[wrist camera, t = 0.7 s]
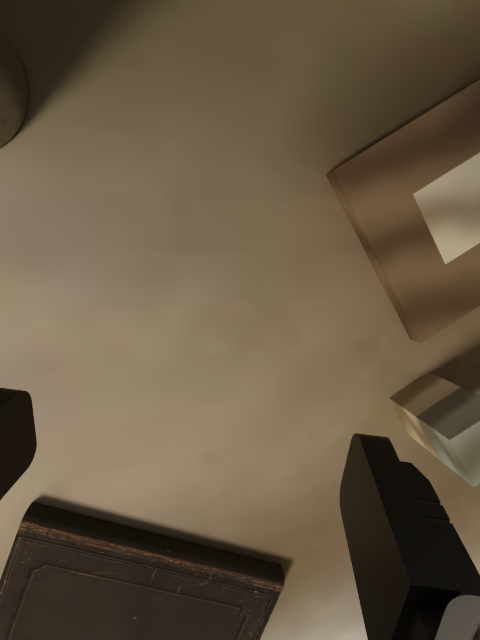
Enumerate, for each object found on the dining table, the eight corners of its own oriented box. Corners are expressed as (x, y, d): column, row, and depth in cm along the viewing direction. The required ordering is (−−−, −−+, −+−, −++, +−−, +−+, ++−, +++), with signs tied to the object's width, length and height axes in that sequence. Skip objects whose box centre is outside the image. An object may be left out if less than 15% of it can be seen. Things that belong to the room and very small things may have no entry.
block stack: (389, 398, 34) (449, 440, 26) (429, 372, 34) (502, 406, 26) (409, 435, 34) (474, 487, 27) (449, 410, 35) (524, 454, 27)
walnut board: (326, 174, 30) (333, 169, 28) (492, 71, 30) (508, 61, 28) (410, 339, 33) (421, 343, 31) (559, 244, 33) (577, 243, 32)
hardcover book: (219, 697, 37) (221, 725, 35) (-22, 654, 33) (-37, 683, 31) (280, 559, 35) (286, 580, 33) (35, 497, 31) (23, 515, 29)
